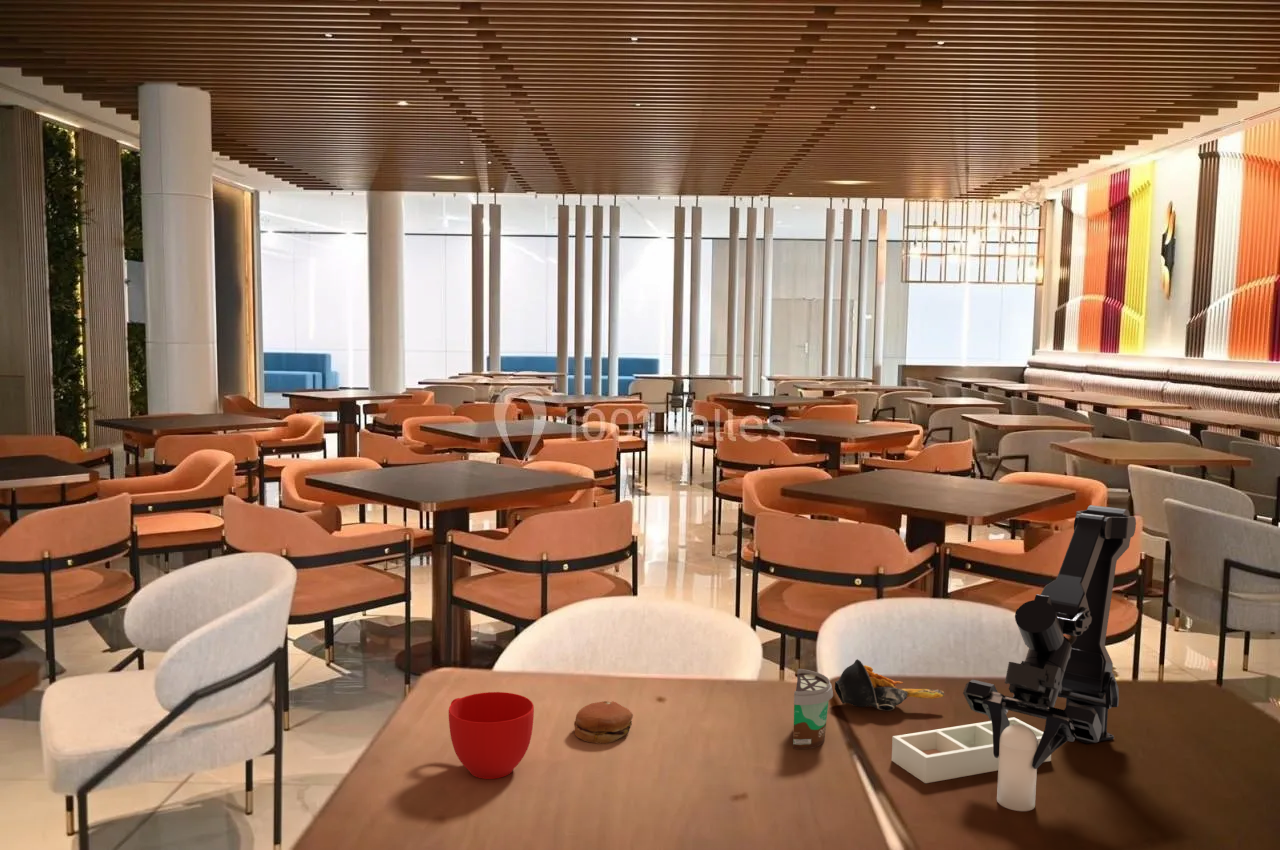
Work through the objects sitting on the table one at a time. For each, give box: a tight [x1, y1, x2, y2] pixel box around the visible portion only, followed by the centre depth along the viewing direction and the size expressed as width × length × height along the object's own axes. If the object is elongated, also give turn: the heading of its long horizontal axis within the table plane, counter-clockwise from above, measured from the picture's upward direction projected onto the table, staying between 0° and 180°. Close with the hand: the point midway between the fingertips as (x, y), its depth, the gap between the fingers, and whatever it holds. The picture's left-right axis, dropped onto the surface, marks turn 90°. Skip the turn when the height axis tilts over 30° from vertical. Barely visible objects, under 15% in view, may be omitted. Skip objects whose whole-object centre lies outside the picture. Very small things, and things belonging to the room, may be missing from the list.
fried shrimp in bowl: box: [834, 659, 945, 711], centre depth 184 cm, size 9×11×18 cm
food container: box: [792, 668, 834, 750], centre depth 168 cm, size 12×6×10 cm, turn 168°
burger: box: [573, 700, 634, 745], centre depth 170 cm, size 10×9×5 cm
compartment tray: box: [891, 717, 1052, 784], centre depth 161 cm, size 24×9×4 cm, turn 111°
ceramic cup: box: [448, 691, 535, 780], centre depth 156 cm, size 13×17×10 cm
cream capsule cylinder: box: [996, 724, 1038, 812], centre depth 146 cm, size 5×5×12 cm
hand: (1014, 762), depth 145 cm, fingers closed on cream capsule cylinder, 5 cm apart
